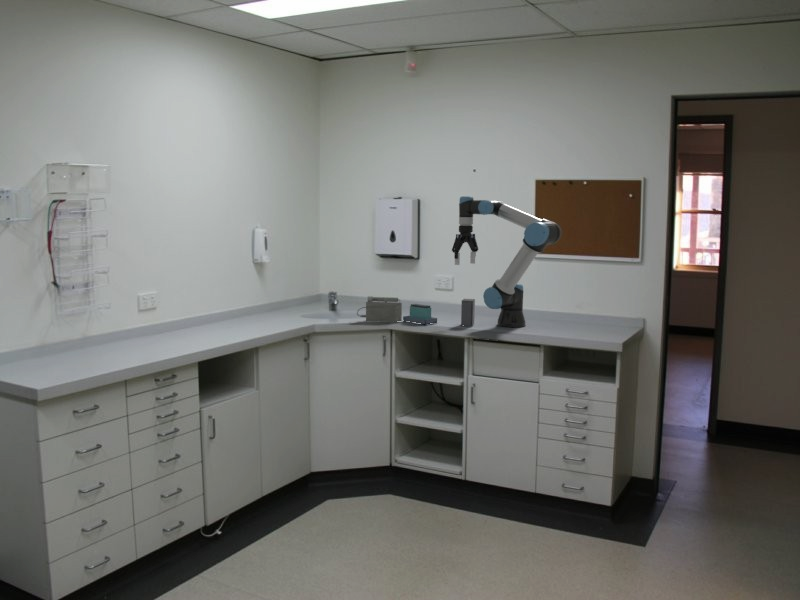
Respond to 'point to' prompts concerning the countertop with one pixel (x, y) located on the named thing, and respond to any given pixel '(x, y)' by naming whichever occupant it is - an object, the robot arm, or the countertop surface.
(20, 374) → the countertop surface
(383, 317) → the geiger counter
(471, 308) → the grey upright block
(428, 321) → the tray
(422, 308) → the teal-edged grey panel
